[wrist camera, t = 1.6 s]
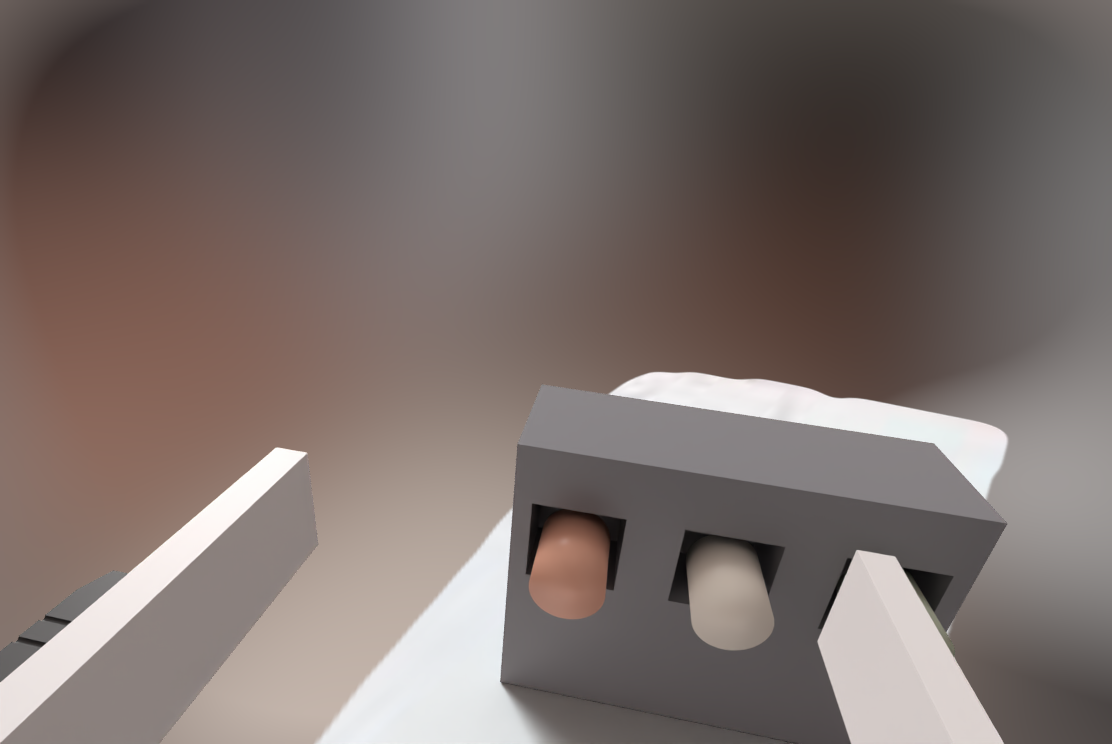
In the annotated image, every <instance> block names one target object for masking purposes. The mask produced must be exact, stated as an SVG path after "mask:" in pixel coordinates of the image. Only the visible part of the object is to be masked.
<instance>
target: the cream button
mask: <svg viewBox="0 0 1112 744" xmlns="http://www.w3.org/2000/svg"><path fill="white" fill-rule="evenodd" d="M686 569H687V580H688V591H689V602H690V612H691V623H692V627H693V629H694V631H695V633H696V634H697V635H698V637H699V638H700V639H702V640H703V641H704V642H706V643H707V644H709V645H711V646H713V647H716V648H720V649H724V650H745V649H749V648H752V647H755V646H757V645H759V644H761V643H763V642H764V641H765V640H766V639H767V638H768V637H769V636H770V635H771V633H772V631H773V628H774V616H773V612H772V609H771V605H770V601H769V597H768V593H767V590H766V586H765V582H764V578H763V574H762V571H761V567H760V563H759V559H758V556H757V553H756V551H755V549H754V548H753V546H752V545H751V544H750V543H748V542H747V541H746V540H741V539H735V538H730V537H724V536H718V535H708V536H705V537H703V538H701V539H699V540H697V541H696V542H695V543H694V544H693V545H692V546H691V547H690V548H689V550H688V552H687V555H686Z"/></svg>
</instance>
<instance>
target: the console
mask: <svg viewBox="0 0 1112 744" xmlns="http://www.w3.org/2000/svg"><path fill="white" fill-rule="evenodd" d="M562 509H568V510H573V511H579V512H585V513H591V514H595V515H597V516H598V517H600V518H601V519H602V520H603V521H604V523H605V524H606V525H607V527H608V529H609V533H610V547H609V559H608V570H607V582H606V593H605V600H604V603H603V605H602V607H601V608H600V609H599V610H598V611H597V612H596V613H594V614H593V615H591V616H588V617H585V618H581V619H564V618H559V617H556V616H553V615H551V614H549V613H547V612H545V611H544V610H542V609H541V608H540V607H539V606H538V605H537V604H536V603H535V602H534V600H533V599H532V597H531V595H530V592H529V580H530V576H531V572H532V568H533V564H534V560H535V557H536V553H537V549H538V545H539V541H540V537H541V533H542V530H543V526H544V523H545V521H546V520H547V518H548V517H549V516H550V515H552V514H553V513H554V512H556V511H559V510H562ZM1006 525H1007V522H1006V521H1005V520H1004V519H1003V518H1002V517H1001V516H1000V515H999V514H998V513H997V512H996V511H995V509H994V508H993V507H992V506H991V505H990V504H989V503H988V502H987V501H986V500H985V499H984V497H983V496H982V495H981V494H980V493H979V492H978V491H977V490H976V489H975V488H974V487H973V486H972V484H971V483H970V482H969V481H968V480H967V479H966V478H965V477H964V476H963V475H962V474H961V472H960V471H959V470H958V469H957V468H956V467H955V466H954V465H953V464H952V463H951V462H950V461H949V459H948V458H947V457H946V456H945V455H944V454H943V453H942V452H941V451H940V450H939V449H938V447H937V446H936V445H935V444H934V443H927V442H920V441H914V440H907V439H900V438H894V437H887V436H880V435H874V434H867V433H860V432H854V431H847V430H840V429H834V428H827V427H820V426H814V425H807V424H801V423H794V422H787V421H781V420H774V419H767V418H761V417H754V416H747V415H741V414H734V413H727V412H721V411H714V410H707V409H701V408H694V407H687V406H681V405H674V404H668V403H661V402H654V401H648V400H641V399H634V398H628V397H621V396H614V395H608V394H601V393H594V392H588V391H581V390H574V389H568V388H561V387H555V386H548V385H542V386H541V388H540V390H539V393H538V395H537V398H536V400H535V403H534V405H533V408H532V410H531V413H530V415H529V418H528V420H527V422H526V425H525V427H524V430H523V432H522V434H521V437H520V440H519V442H518V446H517V459H516V473H515V487H514V500H513V514H512V528H511V542H510V555H509V569H508V583H507V597H506V610H505V624H504V638H503V652H502V665H501V679H500V682H503V683H508V684H513V685H518V686H523V687H527V688H532V689H537V690H542V691H547V692H552V693H556V694H561V695H566V696H571V697H576V698H580V699H585V700H590V701H595V702H600V703H605V704H609V705H614V706H619V707H624V708H629V709H634V710H638V711H643V712H648V713H653V714H658V715H663V716H667V717H672V718H677V719H682V720H687V721H691V722H696V723H701V724H706V725H711V726H716V727H720V728H725V729H730V730H735V731H740V732H745V733H749V734H754V735H759V736H764V737H769V738H774V739H778V740H783V741H788V742H793V743H798V744H851V742H850V739H849V736H848V733H847V730H846V727H845V724H844V721H843V718H842V715H841V712H840V709H839V706H838V703H837V700H836V696H835V693H834V690H833V687H832V684H831V681H830V678H829V675H828V672H827V669H826V666H825V663H824V660H823V657H822V654H821V651H820V648H819V645H818V642H817V641H818V639H819V636H820V634H821V632H822V629H823V627H824V625H825V622H826V620H827V618H828V615H829V613H830V611H831V608H832V606H833V604H834V601H835V599H836V597H837V593H836V588H837V583H838V581H839V579H840V578H841V576H842V575H843V574H844V573H845V572H846V571H847V570H848V569H849V567H850V564H851V562H852V560H853V557H854V555H855V553H856V550H861V551H867V552H872V553H878V554H884V555H889V556H895V557H896V559H897V560H898V562H899V564H900V566H901V567H903V568H905V569H906V570H908V571H909V572H910V574H911V575H912V577H913V578H914V580H915V582H916V583H917V585H918V587H919V588H920V590H921V592H922V593H923V595H924V597H925V598H926V600H927V602H928V603H929V605H930V607H931V608H932V610H933V612H934V613H935V615H936V617H937V618H938V620H939V622H940V623H941V625H942V627H943V628H944V630H945V632H947V630H948V628H949V626H950V624H951V623H952V621H953V619H954V617H955V616H956V614H957V612H958V610H959V608H960V607H961V605H962V603H963V601H964V600H965V598H966V596H967V594H968V593H969V591H970V589H971V587H972V585H973V584H974V582H975V580H976V578H977V576H978V575H979V573H980V571H981V569H982V568H983V566H984V564H985V562H986V561H987V559H988V557H989V555H990V554H991V552H992V550H993V548H994V546H995V545H996V543H997V541H998V539H999V537H1000V536H1001V534H1002V532H1003V530H1004V529H1005V527H1006ZM708 535H718V536H724V537H730V538H735V539H741V540H746V541H747V542H748V543H750V544H751V545H752V546H753V548H754V549H755V551H756V553H757V556H758V559H759V563H760V567H761V571H762V574H763V578H764V582H765V586H766V590H767V593H768V597H769V601H770V605H771V609H772V612H773V616H774V628H773V631H772V633H771V635H770V636H769V637H768V638H767V639H766V640H765V641H764V642H763V643H761V644H759V645H757V646H755V647H752V648H749V649H745V650H724V649H720V648H716V647H713V646H711V645H709V644H707V643H706V642H704V641H703V640H702V639H700V638H699V637H698V635H697V634H696V633H695V631H694V629H693V627H692V623H691V612H690V602H689V591H688V580H687V569H686V555H687V552H688V550H689V548H690V547H691V546H692V545H693V544H694V543H695V542H696V541H697V540H699V539H701V538H703V537H705V536H708Z"/></svg>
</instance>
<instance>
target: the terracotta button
mask: <svg viewBox="0 0 1112 744" xmlns="http://www.w3.org/2000/svg"><path fill="white" fill-rule="evenodd" d="M609 547H610V533H609V529H608V527H607V525H606V524H605V523H604V521H603V520H602V519H601V518H600V517H598V516H597V515H595V514H591V513H585V512H579V511H573V510H568V509H562V510H559V511H556V512H554V513H553V514H552V515H550V516H549V517H548V518H547V520H546V521H545V523H544V526H543V530H542V533H541V537H540V541H539V545H538V549H537V553H536V557H535V560H534V564H533V568H532V572H531V576H530V580H529V592H530V595H531V597H532V599H533V600H534V602H535V603H536V604H537V605H538V606H539V607H540V608H541V609H542V610H544V611H545V612H547V613H549V614H551V615H553V616H556V617H559V618H564V619H581V618H585V617H588V616H591V615H593V614H594V613H596V612H597V611H598V610H599V609H600V608H601V607H602V605H603V603H604V600H605V593H606V582H607V570H608V559H609Z"/></svg>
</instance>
